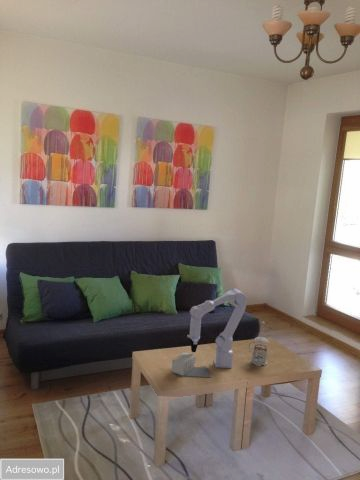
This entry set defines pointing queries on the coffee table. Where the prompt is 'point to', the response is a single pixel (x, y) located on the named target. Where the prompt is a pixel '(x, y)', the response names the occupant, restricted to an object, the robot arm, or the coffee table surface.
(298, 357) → the coffee table surface
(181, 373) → the supplement box
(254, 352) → the french press
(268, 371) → the coffee table surface
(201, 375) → the mat
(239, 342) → the coffee table surface
